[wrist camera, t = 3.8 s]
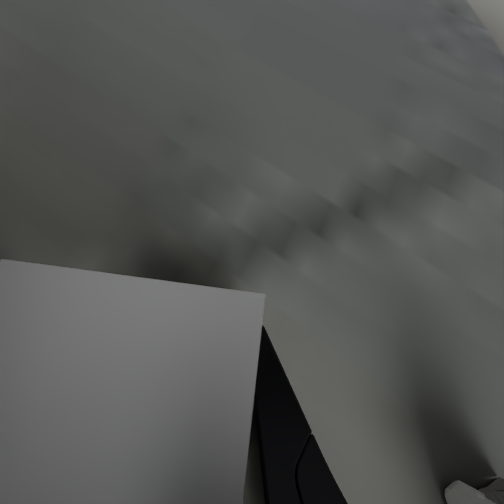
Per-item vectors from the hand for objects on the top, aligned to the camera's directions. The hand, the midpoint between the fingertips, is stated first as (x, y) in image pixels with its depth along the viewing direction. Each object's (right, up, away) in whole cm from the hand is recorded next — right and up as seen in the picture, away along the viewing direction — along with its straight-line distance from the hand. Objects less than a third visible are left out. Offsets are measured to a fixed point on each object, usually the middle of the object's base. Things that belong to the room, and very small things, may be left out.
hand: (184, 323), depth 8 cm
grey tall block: (0, -3, +6) cm, 7 cm away
